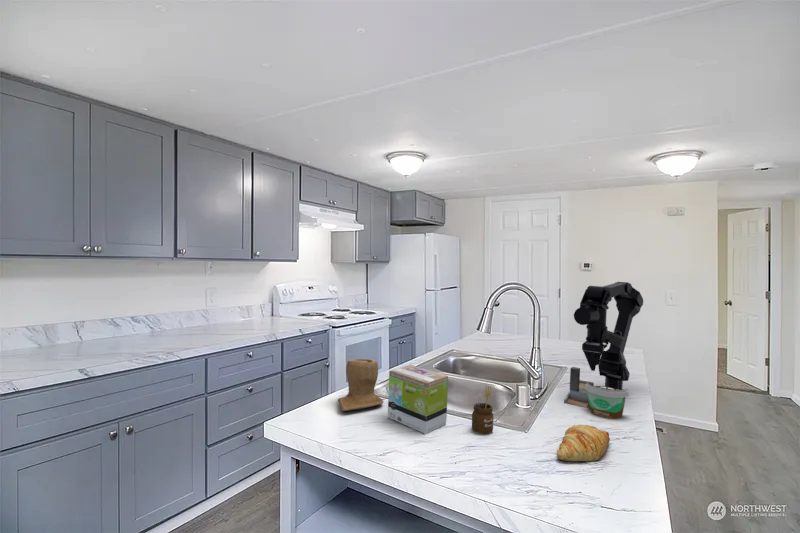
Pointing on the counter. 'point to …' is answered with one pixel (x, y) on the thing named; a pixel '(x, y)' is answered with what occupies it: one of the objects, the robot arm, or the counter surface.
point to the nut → (582, 387)
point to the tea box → (418, 398)
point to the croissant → (583, 443)
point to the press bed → (576, 402)
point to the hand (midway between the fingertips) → (594, 367)
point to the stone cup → (360, 385)
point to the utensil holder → (483, 416)
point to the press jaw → (576, 386)
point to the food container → (606, 401)
